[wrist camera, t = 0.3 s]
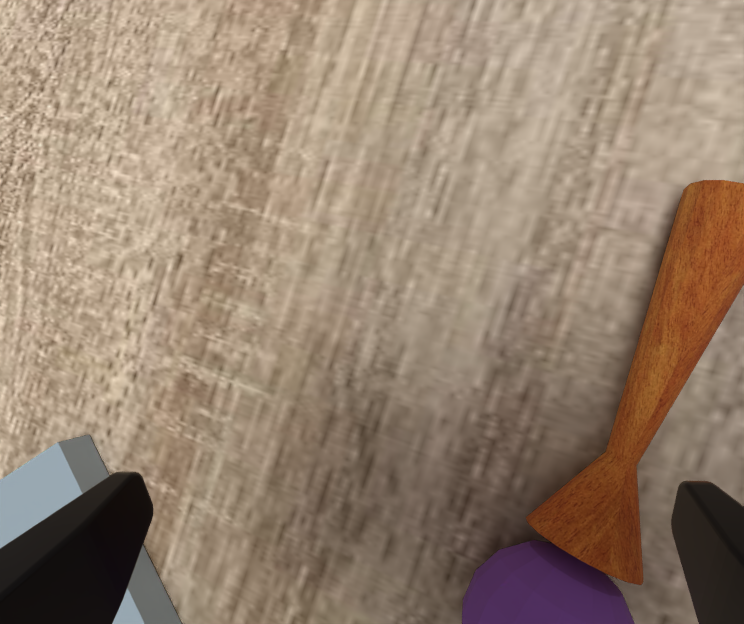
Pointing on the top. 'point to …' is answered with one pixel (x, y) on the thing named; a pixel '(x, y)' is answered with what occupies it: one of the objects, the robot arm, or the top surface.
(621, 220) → the top surface
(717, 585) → the robot arm
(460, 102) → the top surface
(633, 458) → the kendama
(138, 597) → the seat board
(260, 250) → the top surface
